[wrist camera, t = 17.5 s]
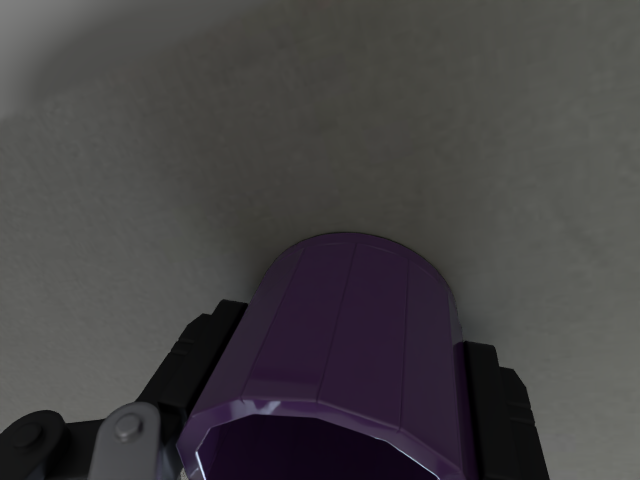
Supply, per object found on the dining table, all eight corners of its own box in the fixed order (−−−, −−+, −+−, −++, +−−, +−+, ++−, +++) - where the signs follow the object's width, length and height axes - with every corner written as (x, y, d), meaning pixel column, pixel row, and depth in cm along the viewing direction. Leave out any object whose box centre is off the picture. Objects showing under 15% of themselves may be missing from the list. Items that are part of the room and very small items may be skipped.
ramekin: (223, 285, 13) (122, 439, 9) (383, 191, 10) (353, 355, 6) (335, 396, 15) (299, 569, 11) (497, 347, 12) (542, 559, 8)
